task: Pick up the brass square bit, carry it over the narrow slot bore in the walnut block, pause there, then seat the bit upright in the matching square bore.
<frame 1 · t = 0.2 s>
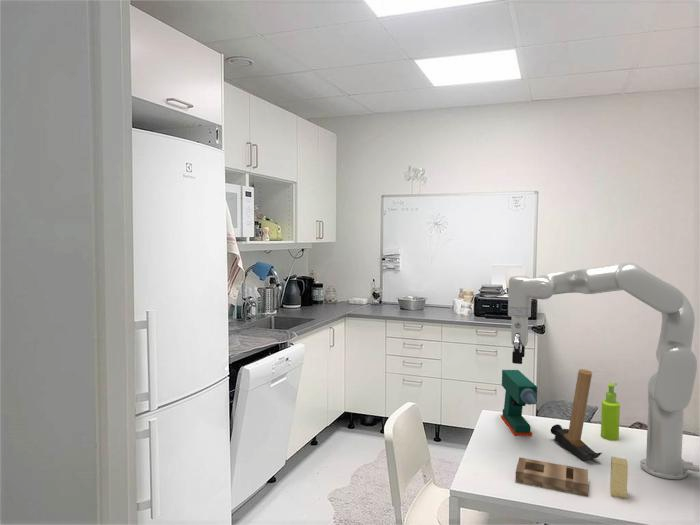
hand: (518, 360, 177), 31 cm above the table, tool pointing down, fingers open, 9 cm apart
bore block: (551, 481, 154), on the table
soap dispenser: (610, 437, 187), on the table
power tool: (521, 434, 190), on the table
square bit: (618, 494, 147), on the table
hammer: (574, 451, 175), on the table
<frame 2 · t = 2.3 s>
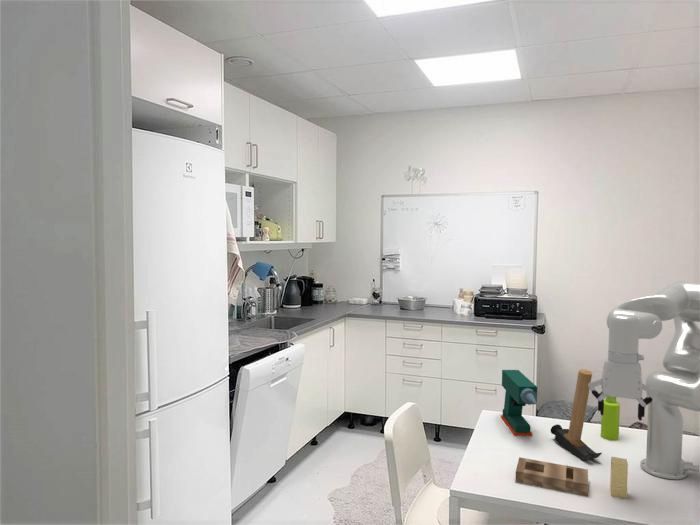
hand: (620, 416, 145), 23 cm above the table, tool pointing down, fingers open, 9 cm apart
nothing on the table moved.
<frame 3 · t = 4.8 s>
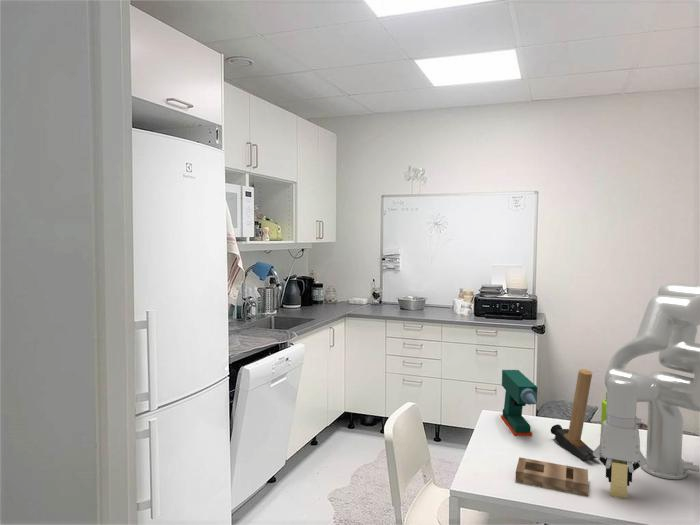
hand: (618, 481, 147), 4 cm above the table, tool pointing down, fingers closed on square bit, 4 cm apart
square bit: (618, 493, 147), on the table, touching gripper
everything else where it was.
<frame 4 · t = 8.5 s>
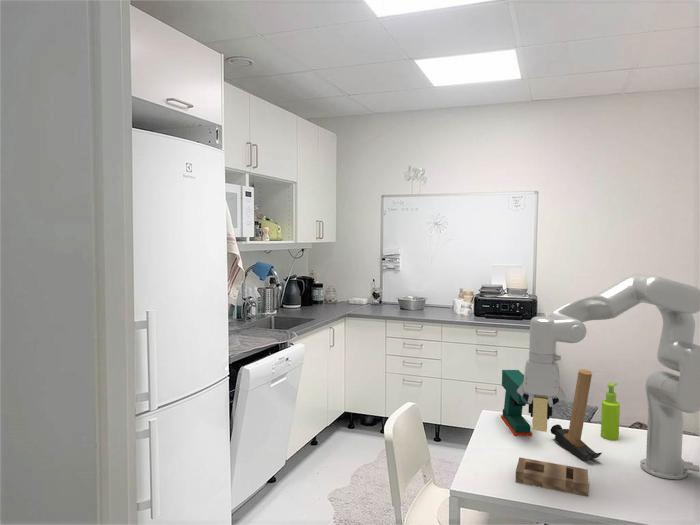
hand: (540, 416, 154), 20 cm above the table, tool pointing down, fingers closed on square bit, 4 cm apart
square bit: (539, 428, 154), point 16 cm above the table, touching gripper
everything else where it was.
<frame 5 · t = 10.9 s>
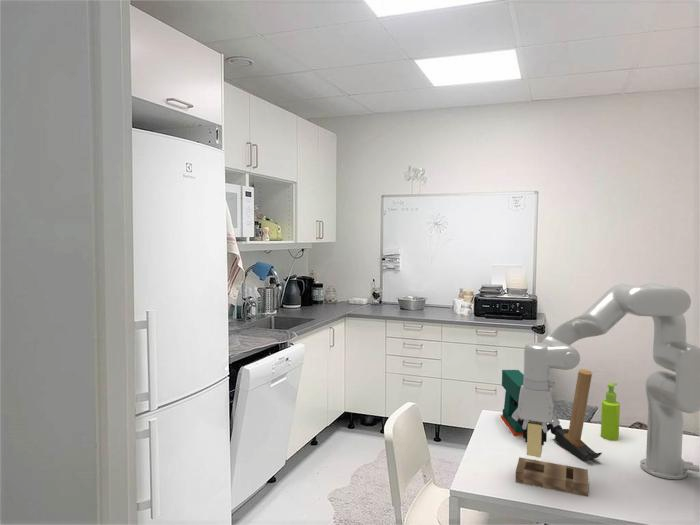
hand: (534, 441, 155), 12 cm above the table, tool pointing down, fingers closed on square bit, 4 cm apart
square bit: (534, 453, 156), point 8 cm above the table, touching gripper
everything else where it was.
when the fingers open (6 cm above the table, at t = 12.6 s): square bit drops 2 cm, resting in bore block.
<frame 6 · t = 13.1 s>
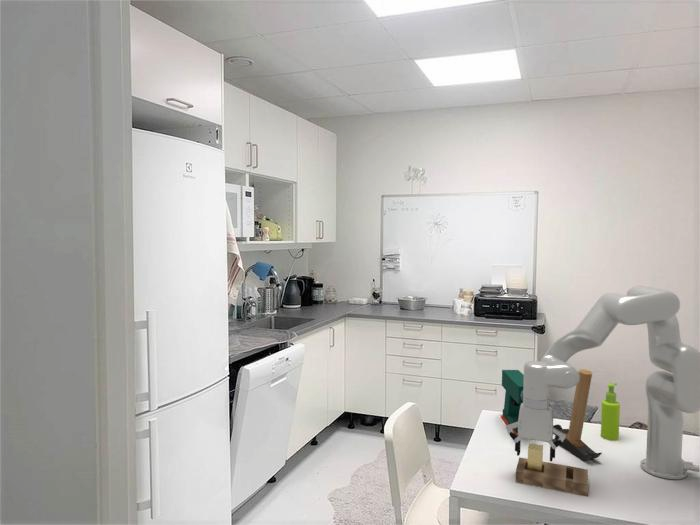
hand: (534, 456, 156), 7 cm above the table, tool pointing down, fingers open, 9 cm apart
square bit: (534, 478, 156), resting in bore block
everything else where it was.
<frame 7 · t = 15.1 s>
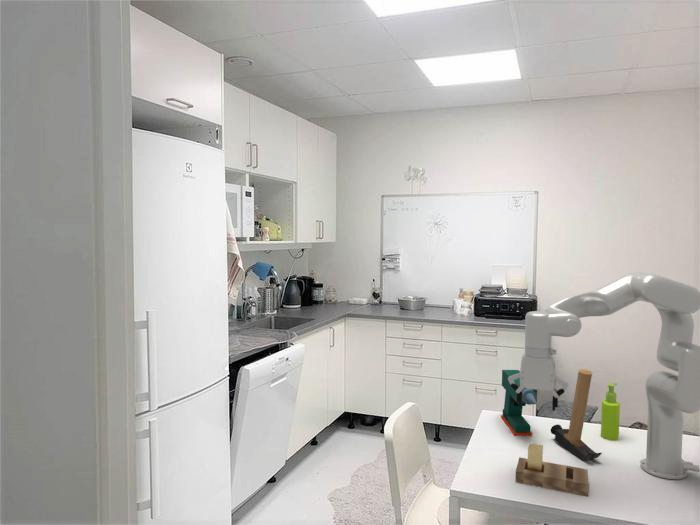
hand: (536, 407, 155), 22 cm above the table, tool pointing down, fingers open, 9 cm apart
nothing on the table moved.
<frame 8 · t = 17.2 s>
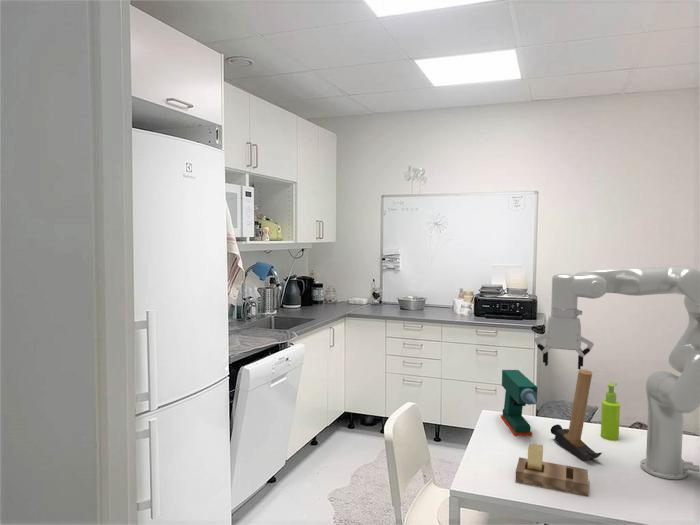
hand: (562, 366, 160), 33 cm above the table, tool pointing down, fingers open, 9 cm apart
nothing on the table moved.
at the end: square bit 0.1 cm from the target spot on the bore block, point 0.0 cm above the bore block's base; square bit tilted 0°; the gripper is holding nothing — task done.
